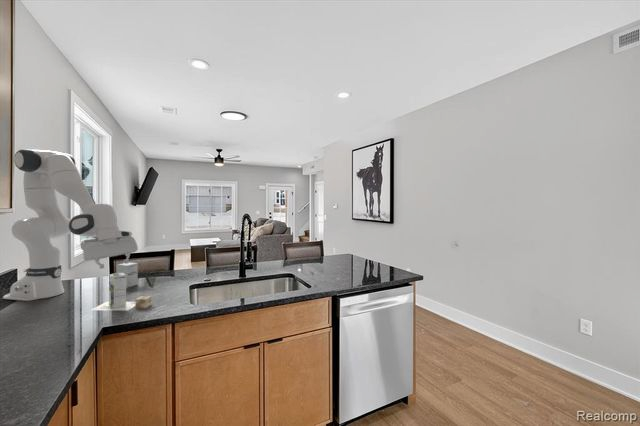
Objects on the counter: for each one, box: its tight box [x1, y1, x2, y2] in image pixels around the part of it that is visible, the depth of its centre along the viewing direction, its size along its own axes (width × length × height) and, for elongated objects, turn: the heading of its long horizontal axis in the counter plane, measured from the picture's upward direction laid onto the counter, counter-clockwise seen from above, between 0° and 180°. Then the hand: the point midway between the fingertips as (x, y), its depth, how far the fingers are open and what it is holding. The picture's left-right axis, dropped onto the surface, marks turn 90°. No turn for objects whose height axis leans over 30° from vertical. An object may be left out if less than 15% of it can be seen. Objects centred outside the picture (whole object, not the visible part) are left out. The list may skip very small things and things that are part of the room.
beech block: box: [135, 295, 152, 309], centre depth 130 cm, size 4×4×4 cm
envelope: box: [90, 301, 136, 311], centre depth 130 cm, size 16×11×1 cm
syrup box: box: [108, 272, 127, 309], centre depth 130 cm, size 6×6×14 cm
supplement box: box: [115, 262, 139, 289], centre depth 161 cm, size 7×7×13 cm
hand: (114, 265), depth 130 cm, fingers open, 8 cm apart
